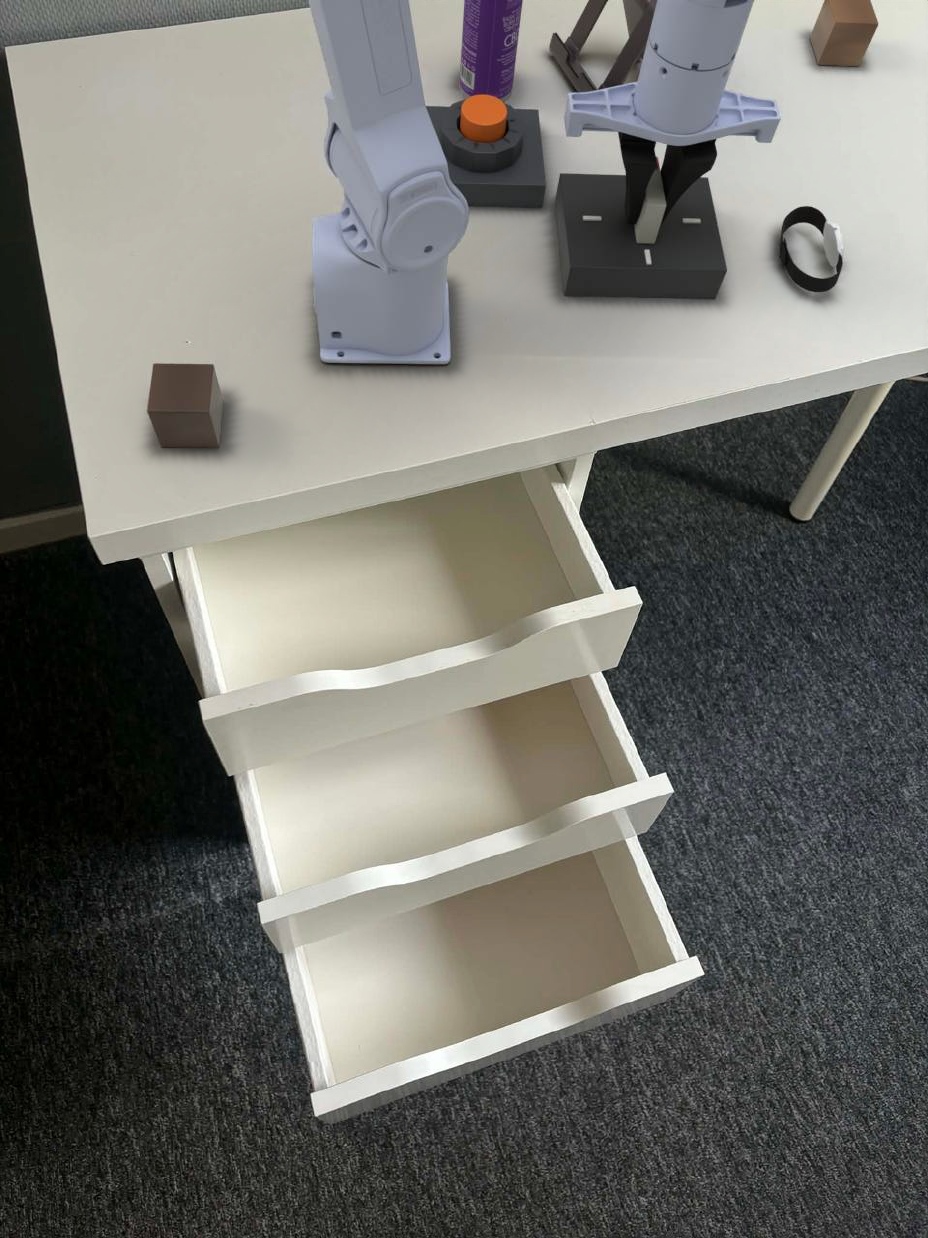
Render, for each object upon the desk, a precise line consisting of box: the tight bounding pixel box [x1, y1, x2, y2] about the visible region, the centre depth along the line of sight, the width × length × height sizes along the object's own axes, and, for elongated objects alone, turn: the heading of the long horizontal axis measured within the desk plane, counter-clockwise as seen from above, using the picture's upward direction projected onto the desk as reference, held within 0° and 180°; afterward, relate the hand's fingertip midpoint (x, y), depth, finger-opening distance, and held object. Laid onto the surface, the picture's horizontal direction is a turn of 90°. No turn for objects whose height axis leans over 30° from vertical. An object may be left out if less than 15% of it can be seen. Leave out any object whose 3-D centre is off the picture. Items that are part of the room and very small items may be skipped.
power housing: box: [426, 98, 547, 209], centre depth 77 cm, size 10×9×4 cm
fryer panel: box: [554, 172, 728, 300], centre depth 74 cm, size 12×10×3 cm
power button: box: [460, 95, 507, 143], centre depth 75 cm, size 4×4×2 cm
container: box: [458, 0, 524, 103], centre depth 76 cm, size 5×5×15 cm
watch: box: [778, 205, 845, 293], centre depth 75 cm, size 8×5×4 cm, turn 8°
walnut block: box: [146, 362, 224, 449], centre depth 64 cm, size 4×4×4 cm
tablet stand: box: [548, 0, 657, 93], centre depth 81 cm, size 9×8×8 cm
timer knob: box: [634, 155, 666, 244], centre depth 71 cm, size 5×1×4 cm, turn 2°
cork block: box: [809, 0, 879, 67], centre depth 87 cm, size 4×4×4 cm
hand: (643, 215), depth 73 cm, fingers closed on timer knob
